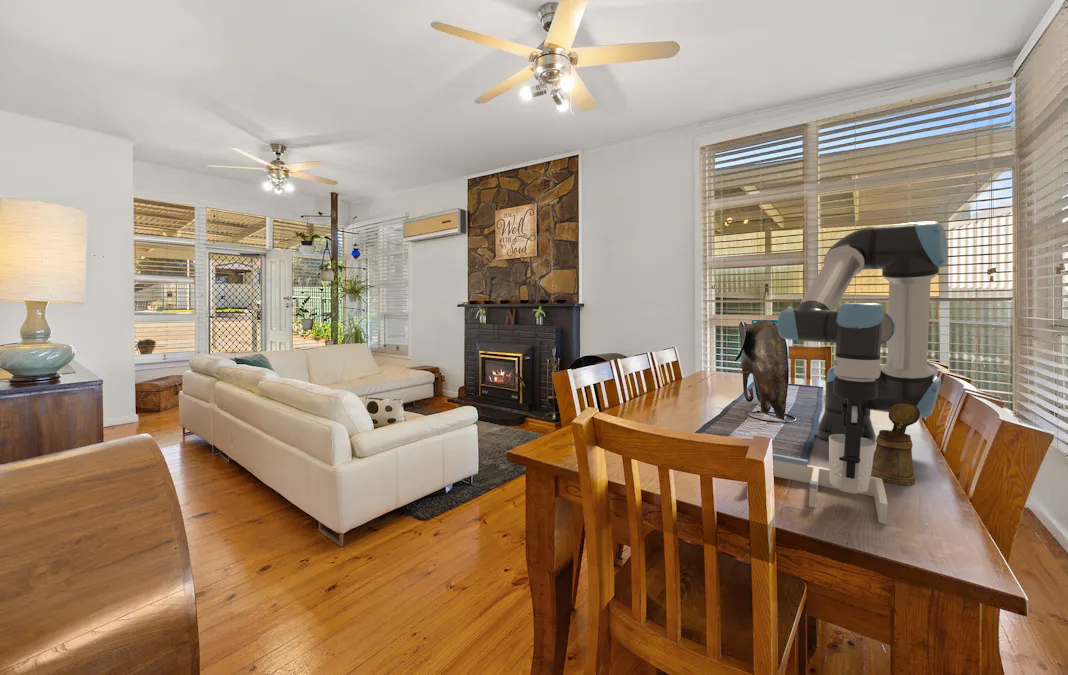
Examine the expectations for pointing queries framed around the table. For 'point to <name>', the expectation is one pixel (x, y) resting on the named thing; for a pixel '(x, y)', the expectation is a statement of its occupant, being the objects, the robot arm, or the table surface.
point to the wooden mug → (896, 447)
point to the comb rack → (825, 481)
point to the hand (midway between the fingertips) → (848, 484)
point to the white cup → (838, 451)
